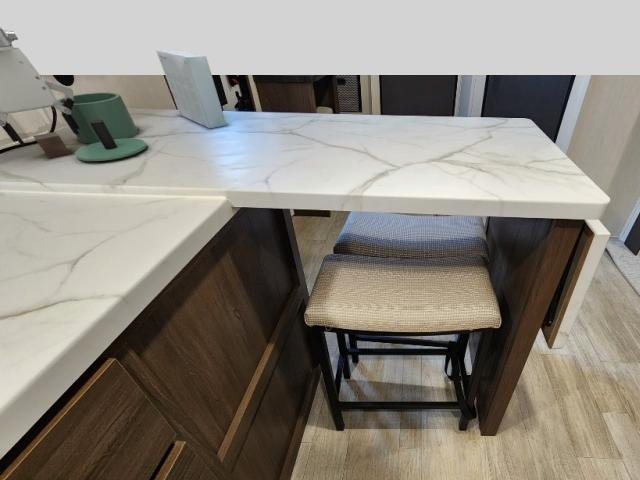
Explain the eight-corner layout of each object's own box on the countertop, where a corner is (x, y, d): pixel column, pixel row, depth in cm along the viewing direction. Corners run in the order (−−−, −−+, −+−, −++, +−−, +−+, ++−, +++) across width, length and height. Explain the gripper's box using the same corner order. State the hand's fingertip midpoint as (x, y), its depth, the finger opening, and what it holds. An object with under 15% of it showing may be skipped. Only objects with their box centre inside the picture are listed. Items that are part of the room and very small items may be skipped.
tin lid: (86, 169, 69) (65, 135, 65) (71, 153, 76) (50, 121, 71) (156, 152, 76) (141, 121, 72) (136, 139, 83) (121, 109, 79)
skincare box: (229, 125, 92) (206, 55, 81) (210, 129, 89) (184, 57, 78) (197, 111, 103) (174, 48, 92) (179, 114, 100) (152, 49, 89)
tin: (87, 147, 79) (62, 107, 73) (74, 136, 85) (50, 98, 79) (144, 135, 85) (126, 97, 80) (129, 125, 92) (110, 90, 86)
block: (49, 158, 73) (36, 139, 70) (45, 154, 75) (32, 135, 72) (71, 154, 75) (59, 135, 73) (67, 150, 77) (55, 131, 75)
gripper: (36, 36, 68) (91, 126, 79) (-86, 44, 59) (-3, 145, 70) (43, 38, 64) (100, 132, 76) (-86, 47, 55) (1, 153, 66)
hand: (50, 138), depth 73 cm, fingers open, 9 cm apart
